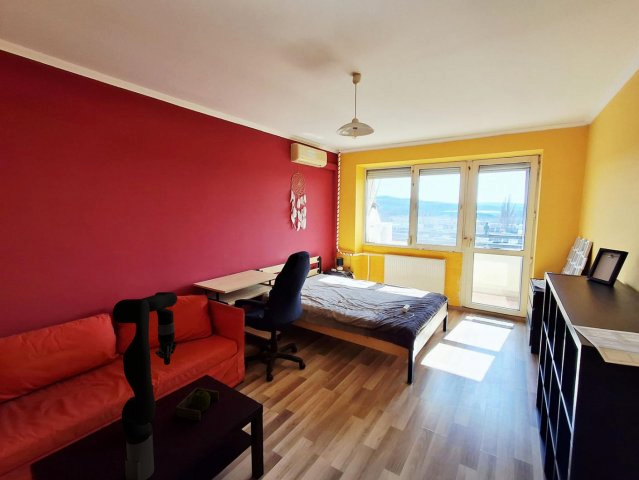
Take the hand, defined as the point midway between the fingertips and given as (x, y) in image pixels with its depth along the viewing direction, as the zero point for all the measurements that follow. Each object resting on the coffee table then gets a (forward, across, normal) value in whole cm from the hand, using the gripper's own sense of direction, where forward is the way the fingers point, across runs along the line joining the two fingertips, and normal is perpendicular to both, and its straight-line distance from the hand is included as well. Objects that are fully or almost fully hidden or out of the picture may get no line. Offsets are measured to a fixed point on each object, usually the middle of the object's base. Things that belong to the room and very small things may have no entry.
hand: (167, 364), depth 149 cm
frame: (+32, +14, -8) cm, 36 cm away
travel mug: (+32, -4, +10) cm, 34 cm away
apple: (+32, +13, -10) cm, 36 cm away
